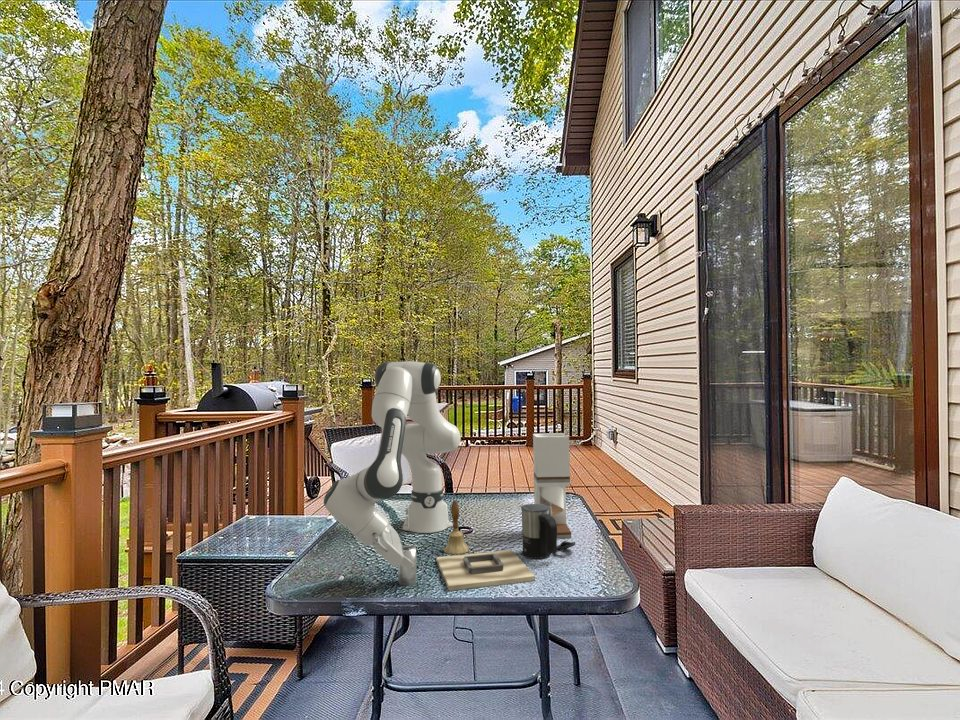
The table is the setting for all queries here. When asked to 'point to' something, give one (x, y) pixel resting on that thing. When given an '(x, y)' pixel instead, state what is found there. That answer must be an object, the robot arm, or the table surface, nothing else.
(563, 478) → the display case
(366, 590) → the table surface
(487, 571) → the hub board
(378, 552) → the robot arm
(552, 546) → the milk frother
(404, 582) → the sleeve
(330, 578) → the table surface
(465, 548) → the hand bell
